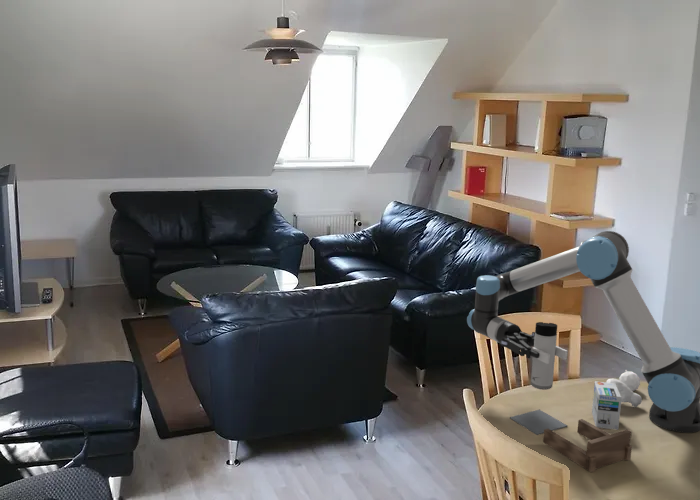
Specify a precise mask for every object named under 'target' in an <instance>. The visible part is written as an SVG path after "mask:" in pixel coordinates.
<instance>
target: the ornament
mask: <svg viewBox="0 0 700 500" xmlns="http://www.w3.org/2000/svg"><path fill="white" fill-rule="evenodd" d="M618 380H620V381H622V382H623V383H624V384H625V385H627V387H628V388H630V390H631V391H632V392H634V391H636V390H638V389H639V386H640V385H641V379H640V377H639V375H638V374H637V373H635V372H633V371H628V370H627V369H625V371H624V372H623V373H621V374H620V376H619V378H618Z"/></svg>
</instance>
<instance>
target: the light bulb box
mask: <svg viewBox="0 0 700 500" xmlns="http://www.w3.org/2000/svg"><path fill="white" fill-rule="evenodd" d="M592 397H593V398H592V406H591V407H592V408H591V414H592V417H593V422H594V426H596V427H598V428H600V429H608V430H616V431H618V430H619V428H620V416H621V410H622V409H621V408H622V402H621V401H622V396H621V394H620V392H619V390H618V388H617V385H616V383H606V381H605V382H604V381H596V380H595V381H594V387H593V396H592Z"/></svg>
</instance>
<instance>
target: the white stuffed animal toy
mask: <svg viewBox="0 0 700 500" xmlns="http://www.w3.org/2000/svg"><path fill="white" fill-rule="evenodd" d="M605 382H606V383H616V385H617V388H618V390H619V392H620V394H621V396H622V401H621V403H630V404H631V407H632V408H633V409H634V408H637V407H638V406H639V405H641V404H642V401H643V399H642V396H641V395H640V394H638V393H636V392H634V391H631V390H630V388H628V387H627V385H625V384H624V383H623V382H622V381H620V380H619V378H608V379H606V381H605Z"/></svg>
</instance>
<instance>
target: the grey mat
mask: <svg viewBox="0 0 700 500" xmlns="http://www.w3.org/2000/svg"><path fill="white" fill-rule="evenodd" d="M509 419H510V420H512V421H513V422H515V423H517V424H519V425H520V426H521V427H523V428H525V429H526V430H528V431H530V432H531V433H533V434H535V435H536V436H539V435H544V429H550V430H551V431H553V432H555V431H557V430H560V429H565V428H567V427H568V425H567V424H566V423H564V422H563V421H560V420H558V418H555V417H553V416H552V415H550V414H548V413H547V412H545V411H544V410H541V409H536V410H531V411H527V412H524V413H521V414H516V415H514V416H509Z"/></svg>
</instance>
